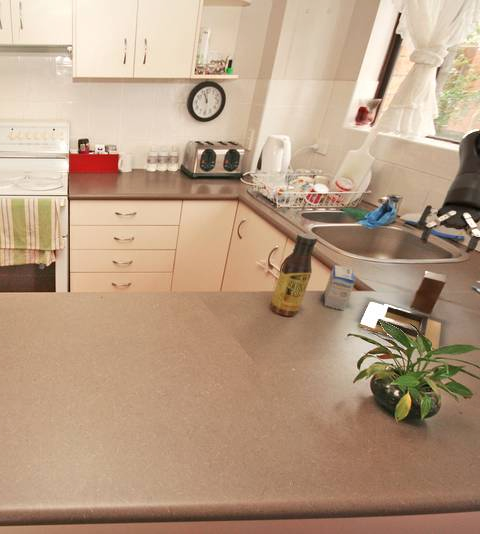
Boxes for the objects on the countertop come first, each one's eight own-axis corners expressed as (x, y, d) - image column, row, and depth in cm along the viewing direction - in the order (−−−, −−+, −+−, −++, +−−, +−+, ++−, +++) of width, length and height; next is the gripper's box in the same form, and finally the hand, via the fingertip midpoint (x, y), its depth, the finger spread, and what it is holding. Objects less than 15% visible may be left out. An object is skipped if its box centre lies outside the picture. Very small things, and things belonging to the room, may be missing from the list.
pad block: (431, 307, 99) (446, 275, 95) (430, 314, 96) (445, 282, 92) (411, 301, 101) (425, 270, 97) (410, 308, 98) (424, 276, 94)
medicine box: (323, 293, 104) (333, 264, 100) (342, 298, 102) (353, 268, 98) (323, 306, 98) (334, 275, 94) (344, 311, 96) (355, 280, 92)
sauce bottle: (279, 318, 92) (302, 241, 84) (264, 305, 98) (284, 231, 89) (304, 316, 93) (329, 240, 85) (287, 303, 99) (309, 230, 90)
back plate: (439, 326, 91) (444, 317, 90) (436, 353, 81) (441, 343, 80) (368, 304, 99) (372, 296, 98) (358, 327, 90) (362, 317, 89)
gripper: (435, 181, 103) (414, 232, 100) (510, 191, 94) (489, 247, 92) (428, 197, 109) (408, 245, 106) (498, 208, 100) (478, 261, 97)
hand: (445, 246), depth 99 cm, fingers open, 8 cm apart
